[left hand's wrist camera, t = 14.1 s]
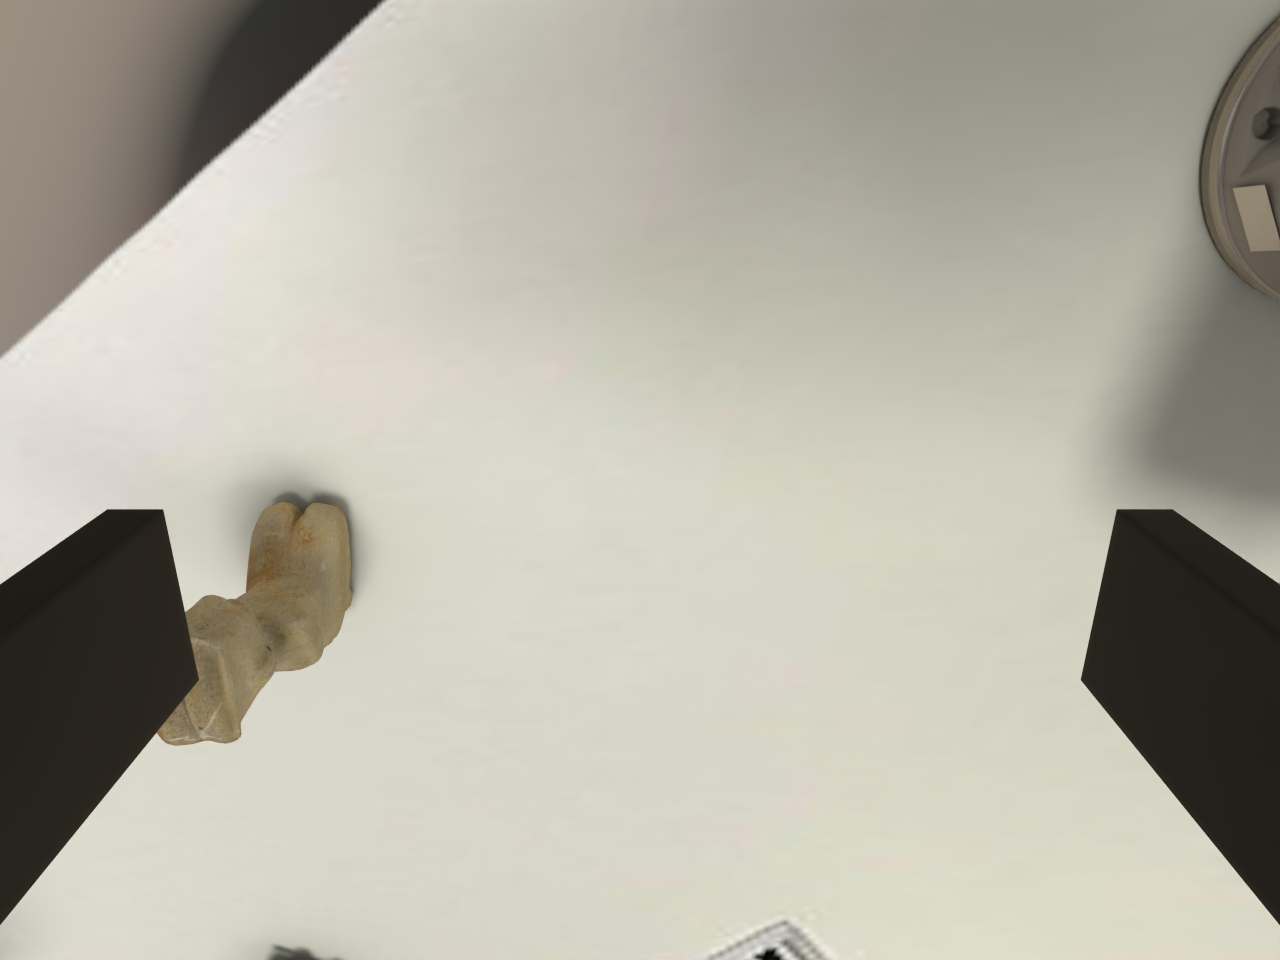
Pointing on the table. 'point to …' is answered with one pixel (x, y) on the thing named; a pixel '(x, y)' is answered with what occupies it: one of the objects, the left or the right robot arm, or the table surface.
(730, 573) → the table surface
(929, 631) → the table surface
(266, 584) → the sculpture
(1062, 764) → the table surface
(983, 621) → the table surface
